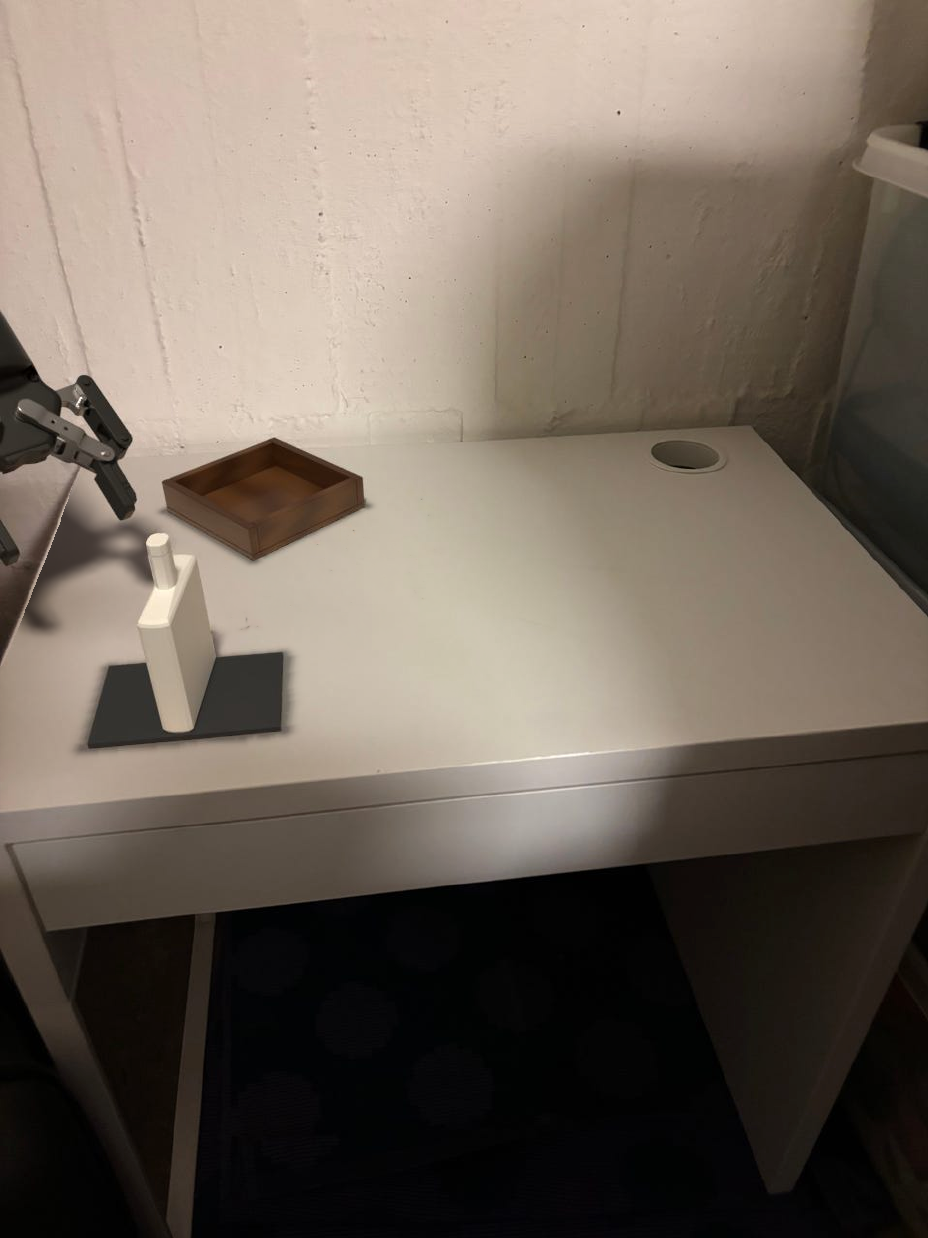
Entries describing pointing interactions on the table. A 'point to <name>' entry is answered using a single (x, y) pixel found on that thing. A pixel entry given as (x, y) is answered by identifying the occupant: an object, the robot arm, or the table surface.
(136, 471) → the table surface
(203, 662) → the perfume bottle
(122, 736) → the mat
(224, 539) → the compartment
